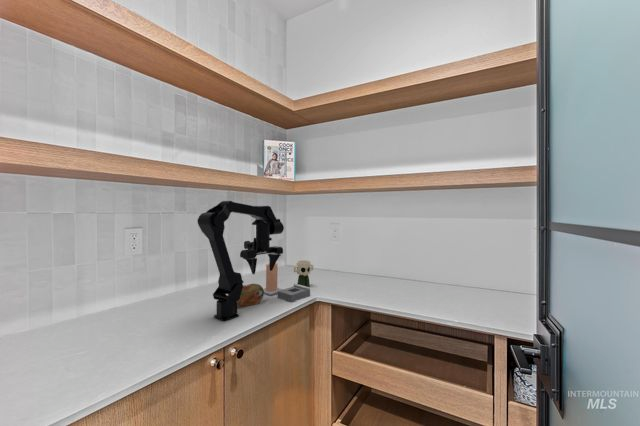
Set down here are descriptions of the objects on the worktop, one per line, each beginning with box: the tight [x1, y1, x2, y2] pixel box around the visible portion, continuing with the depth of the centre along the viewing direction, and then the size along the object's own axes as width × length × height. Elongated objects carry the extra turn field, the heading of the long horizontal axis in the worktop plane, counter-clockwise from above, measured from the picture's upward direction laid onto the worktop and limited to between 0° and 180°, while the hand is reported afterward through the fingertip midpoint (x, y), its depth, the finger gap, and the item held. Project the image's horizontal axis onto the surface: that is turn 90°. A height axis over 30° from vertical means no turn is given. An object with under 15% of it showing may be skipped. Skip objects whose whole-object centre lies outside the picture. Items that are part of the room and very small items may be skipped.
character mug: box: [293, 260, 314, 287], centre depth 141 cm, size 11×7×13 cm, turn 118°
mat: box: [263, 287, 284, 297], centre depth 131 cm, size 9×9×1 cm
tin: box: [227, 283, 265, 309], centre depth 113 cm, size 15×3×8 cm, turn 129°
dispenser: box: [276, 283, 311, 303], centre depth 125 cm, size 12×9×4 cm
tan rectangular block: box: [265, 262, 279, 292], centre depth 131 cm, size 4×4×12 cm
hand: (262, 272), depth 115 cm, fingers open, 9 cm apart
